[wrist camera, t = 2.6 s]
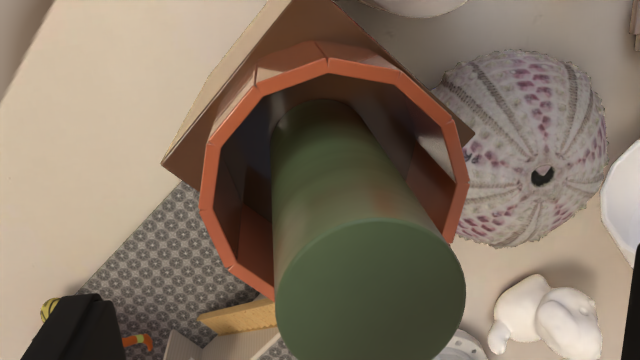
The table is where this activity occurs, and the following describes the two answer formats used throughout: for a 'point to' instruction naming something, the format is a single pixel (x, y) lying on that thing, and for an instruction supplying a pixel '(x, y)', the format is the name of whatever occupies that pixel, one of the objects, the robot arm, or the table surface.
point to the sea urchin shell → (525, 144)
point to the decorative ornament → (635, 23)
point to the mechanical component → (462, 348)
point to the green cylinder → (354, 246)
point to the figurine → (547, 319)
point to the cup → (623, 202)
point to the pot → (286, 93)
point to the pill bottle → (415, 7)
